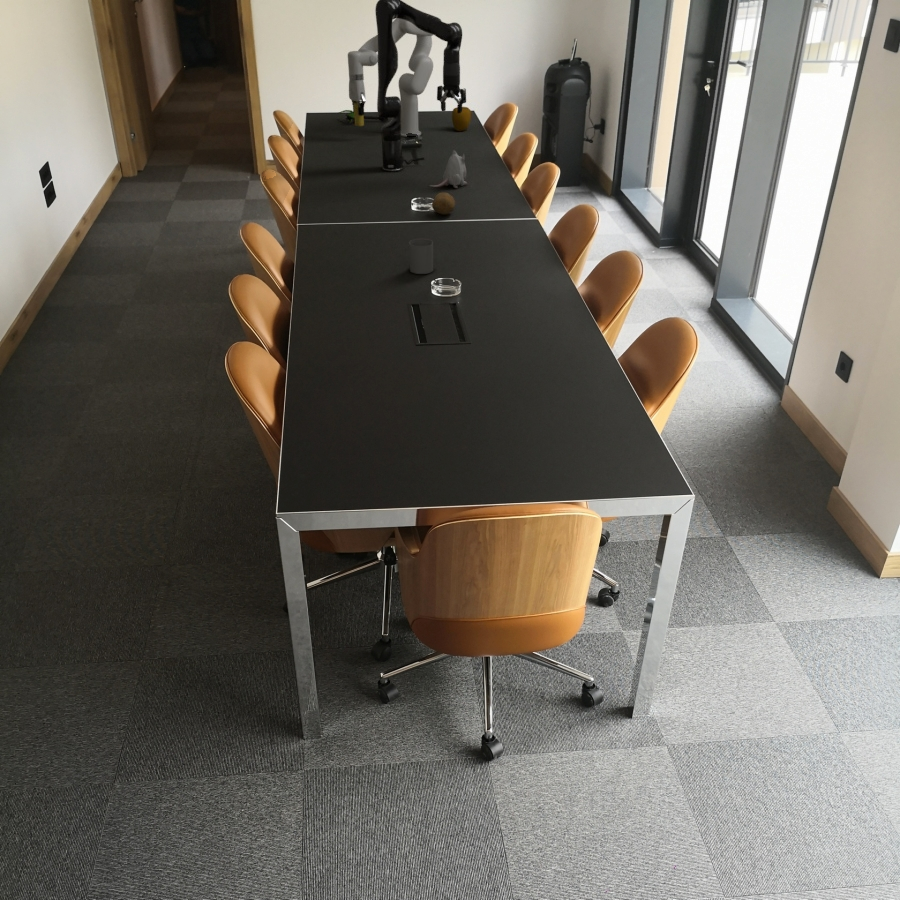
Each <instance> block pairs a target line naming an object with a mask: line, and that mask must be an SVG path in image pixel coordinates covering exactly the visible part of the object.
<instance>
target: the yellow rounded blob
mask: <svg viewBox="0 0 900 900" xmlns="http://www.w3.org/2000/svg"><path fill="white" fill-rule="evenodd" d="M451 121H452V125H453V128H454V129H455V131H457V132H463V131H466V130H467V129H468V128H469V126H470V124H471V121H472V111H471V108H469V107H467V106H462V112H461V113H457V107H454V108H452V111H451Z"/></svg>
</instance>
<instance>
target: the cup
mask: <svg viewBox="0 0 900 900" xmlns="http://www.w3.org/2000/svg"><path fill="white" fill-rule="evenodd" d="M408 253H409V272H411V273H412V274H416V275H426V274H430V273H432V272H434V241H433V240H431V239H428V238H422V237H421V238H420V237H419V238H414V239H411V240H410V241H409V242H408Z"/></svg>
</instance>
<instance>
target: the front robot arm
mask: <svg viewBox="0 0 900 900" xmlns="http://www.w3.org/2000/svg"><path fill="white" fill-rule="evenodd" d="M374 10H375V21H376V31H377V32H376V33H377V34H376V35H378V52H377V55H378V62H377V98H376V99H377V101H376V110H377V115H378V117H380V118H388V119H391V120H389V122H387V123H385V124H382V126H381V151H382V152H381V153H382V170H383V171H385V172H400V171H402V170H403V165H404V164H403V163H406V164H407V165H410V164H411V163H412V162H413V161H420V160H421V161H422V160H424V159H425V157H424V156H423V157H416V158H412V159H411V158H410V160H409V161H408V160H406V159H405V158H404V156H403V148H402V136H401V99H400V96H395V95H394V96H387V91H388V89H389V86H390V84H391V82H392V81H393V78H394V77H395V76H396V73H397V71H398V69H399V52H398V47H397V44H396V43H395V42H394V39H393V36H392V22H393V21H394V20H395V19H396V18H399V19H404V20H407V21H409V22H411V23H412V24H413V25H415V26H416V27H417V28H419V29H420V30H422V31H425V32H427V33H430V34H433V36H434V37H436V38H438V39H439V40H441V41H444V42H446V46H445V48H444V50H443V64H442V84H443V85H438V86H437V87H436V101H439V102H440V110H441V111H442V112H446V108H447V103H446V101H447V99H454V101H456V104H457V105H456V108H457V113H461V112H462V107H463V104H466V103H467V89H466V88H460V87H461V86H460V85H461V64H460V60H461V59H460V58H461V57H460V51H461V46H462V42H463V41H462V40H463V28H462V26H461V25H460V24H459V23H458V22H450V23H447V22H444V21H442V20H441V18H439V17H437V16H435V15H433V14H430V13H426V12H425V11H422V10H419V9H417V8H415V7H413V6H411V5H410V4H408V3H406V2H404V1H403V0H378V1H377V2H376V4H375V9H374Z"/></svg>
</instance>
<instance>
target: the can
mask: <svg viewBox="0 0 900 900" xmlns="http://www.w3.org/2000/svg"><path fill="white" fill-rule="evenodd" d="M360 104H361V102H360ZM358 107H359V105H358V102H357V103H354V118H355V122H354V126H355V127H363V126H365V119H364V117H363V116H364V115H359V114H358Z"/></svg>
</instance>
